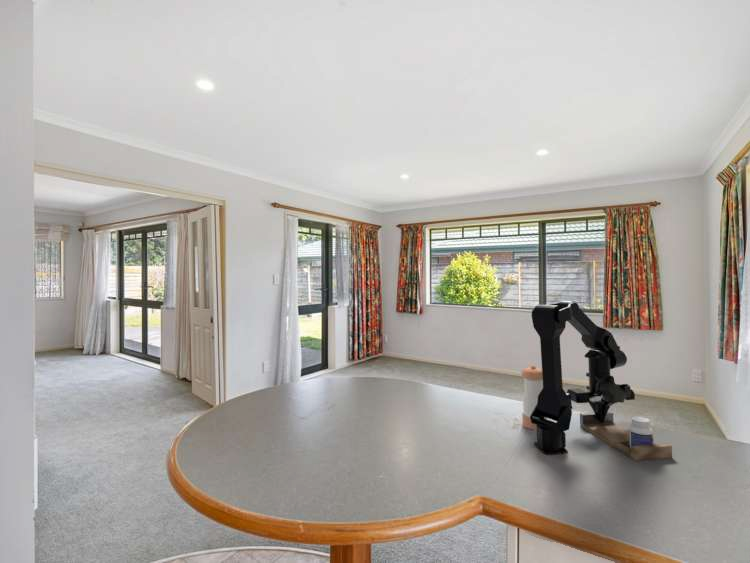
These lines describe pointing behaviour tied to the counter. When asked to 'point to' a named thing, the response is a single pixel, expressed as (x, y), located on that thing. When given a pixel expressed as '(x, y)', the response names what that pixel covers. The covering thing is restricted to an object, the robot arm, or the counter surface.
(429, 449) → the counter surface
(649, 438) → the pill bottle
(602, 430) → the brown long shallow piece
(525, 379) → the pepper shaker
